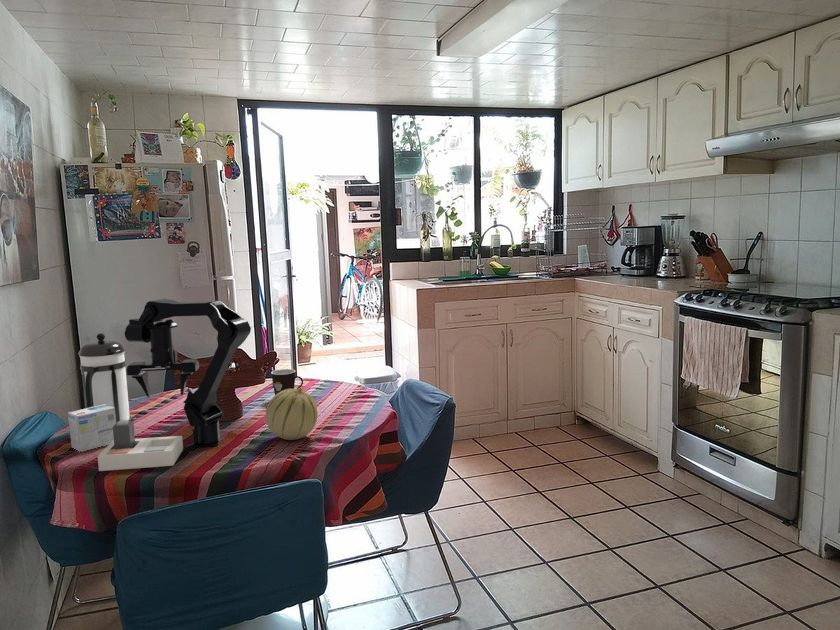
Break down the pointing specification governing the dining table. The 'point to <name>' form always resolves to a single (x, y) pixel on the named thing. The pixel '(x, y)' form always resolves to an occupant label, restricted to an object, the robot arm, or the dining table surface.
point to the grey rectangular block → (124, 434)
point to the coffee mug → (284, 380)
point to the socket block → (142, 454)
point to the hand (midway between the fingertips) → (165, 396)
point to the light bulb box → (92, 427)
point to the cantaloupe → (291, 414)
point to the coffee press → (105, 375)
